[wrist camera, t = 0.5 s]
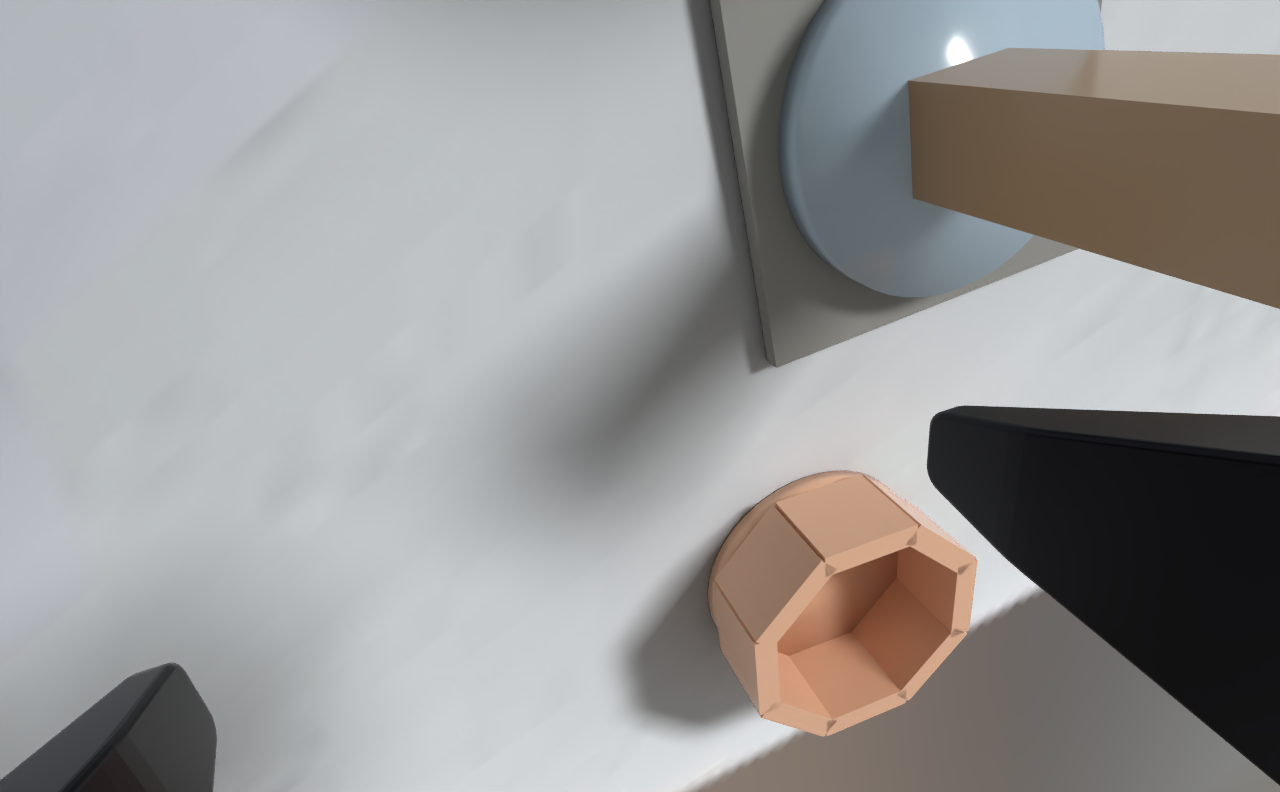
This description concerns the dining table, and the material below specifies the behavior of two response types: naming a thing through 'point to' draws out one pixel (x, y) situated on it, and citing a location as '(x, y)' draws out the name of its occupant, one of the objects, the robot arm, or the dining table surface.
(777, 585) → the bowl
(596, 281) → the dining table surface
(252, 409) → the dining table surface
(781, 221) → the mat
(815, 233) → the tan post on disc
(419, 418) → the dining table surface
